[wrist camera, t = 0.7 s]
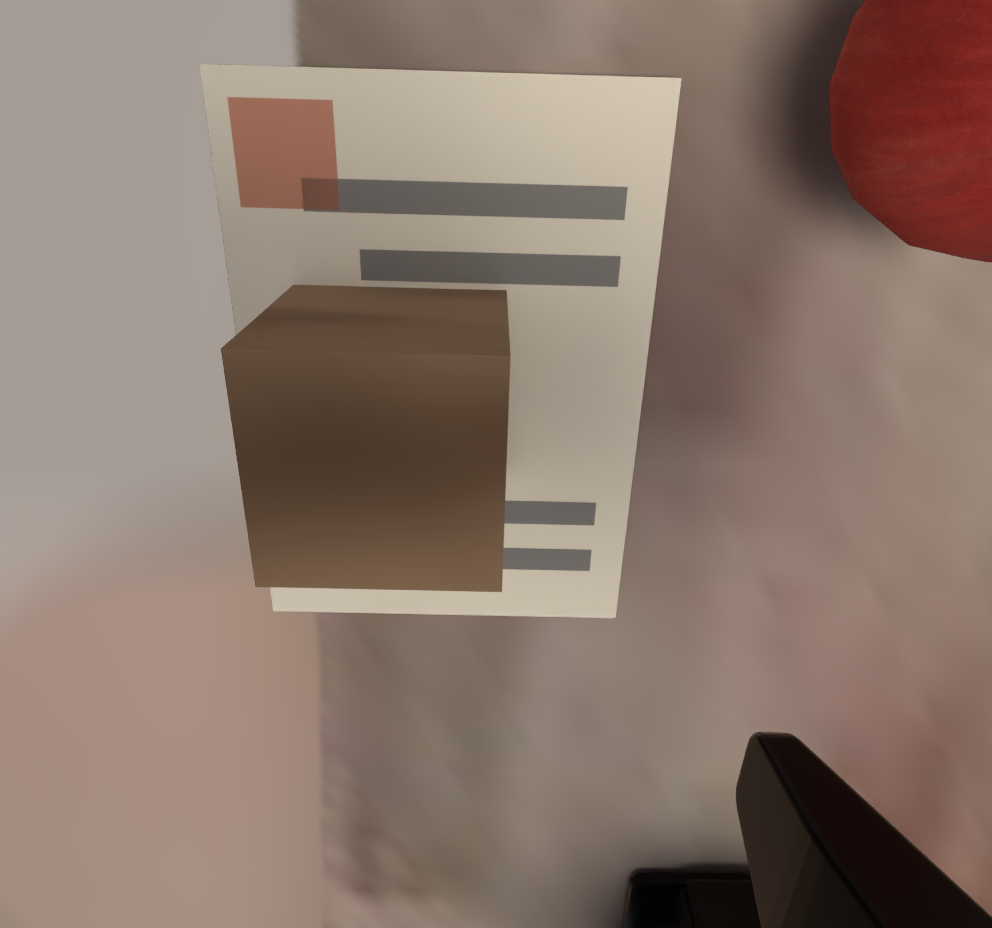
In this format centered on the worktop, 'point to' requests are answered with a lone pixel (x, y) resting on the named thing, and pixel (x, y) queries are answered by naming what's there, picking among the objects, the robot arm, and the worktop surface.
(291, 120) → the letter
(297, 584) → the walnut block
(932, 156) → the onion
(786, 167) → the worktop surface
